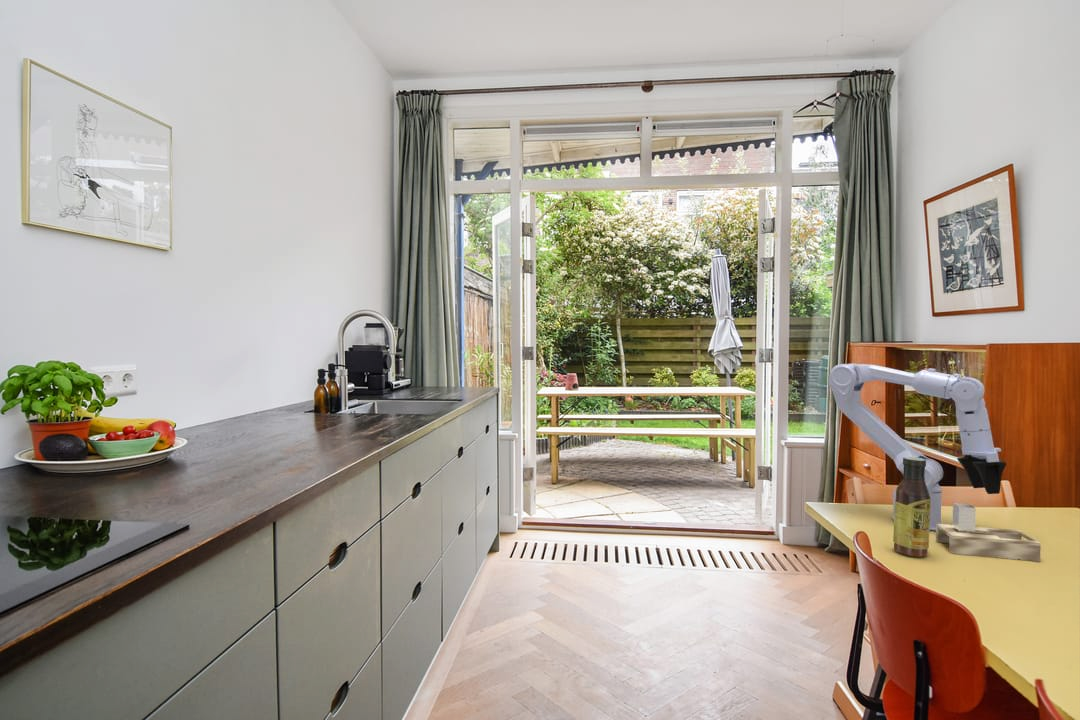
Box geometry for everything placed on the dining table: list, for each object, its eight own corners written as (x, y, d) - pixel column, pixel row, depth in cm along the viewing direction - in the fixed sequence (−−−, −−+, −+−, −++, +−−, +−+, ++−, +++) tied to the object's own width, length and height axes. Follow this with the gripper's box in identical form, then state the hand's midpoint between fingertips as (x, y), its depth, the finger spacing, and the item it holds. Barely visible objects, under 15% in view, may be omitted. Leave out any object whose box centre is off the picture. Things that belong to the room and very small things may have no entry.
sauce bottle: (917, 560, 115) (920, 462, 114) (886, 550, 120) (888, 457, 120) (935, 555, 118) (938, 459, 117) (904, 545, 123) (907, 454, 123)
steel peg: (955, 551, 120) (956, 507, 120) (946, 544, 125) (948, 501, 124) (979, 553, 119) (981, 509, 119) (970, 546, 123) (971, 503, 123)
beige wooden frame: (951, 553, 119) (951, 535, 119) (935, 540, 127) (936, 523, 127) (1040, 561, 115) (1040, 542, 115) (1018, 547, 123) (1019, 530, 122)
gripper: (1010, 430, 121) (1023, 495, 120) (982, 426, 135) (993, 484, 134) (971, 434, 124) (983, 497, 122) (947, 429, 137) (958, 486, 136)
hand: (986, 490), depth 128 cm, fingers open, 7 cm apart
